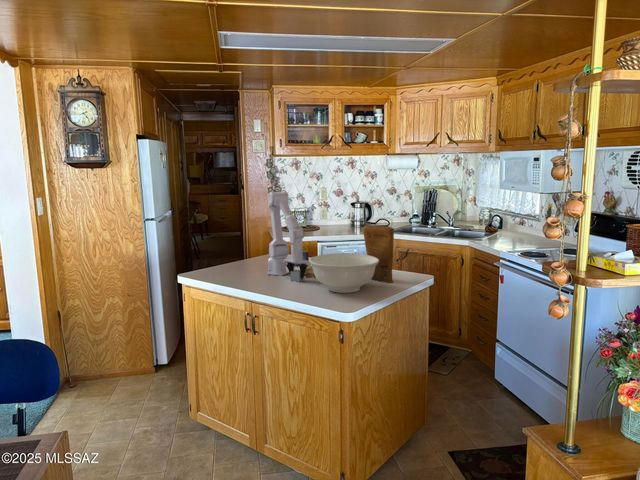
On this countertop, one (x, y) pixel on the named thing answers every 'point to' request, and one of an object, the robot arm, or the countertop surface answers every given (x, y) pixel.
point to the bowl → (344, 271)
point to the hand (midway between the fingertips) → (297, 277)
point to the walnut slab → (309, 275)
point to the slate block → (295, 276)
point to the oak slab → (309, 269)
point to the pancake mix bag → (380, 250)
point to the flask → (304, 257)
